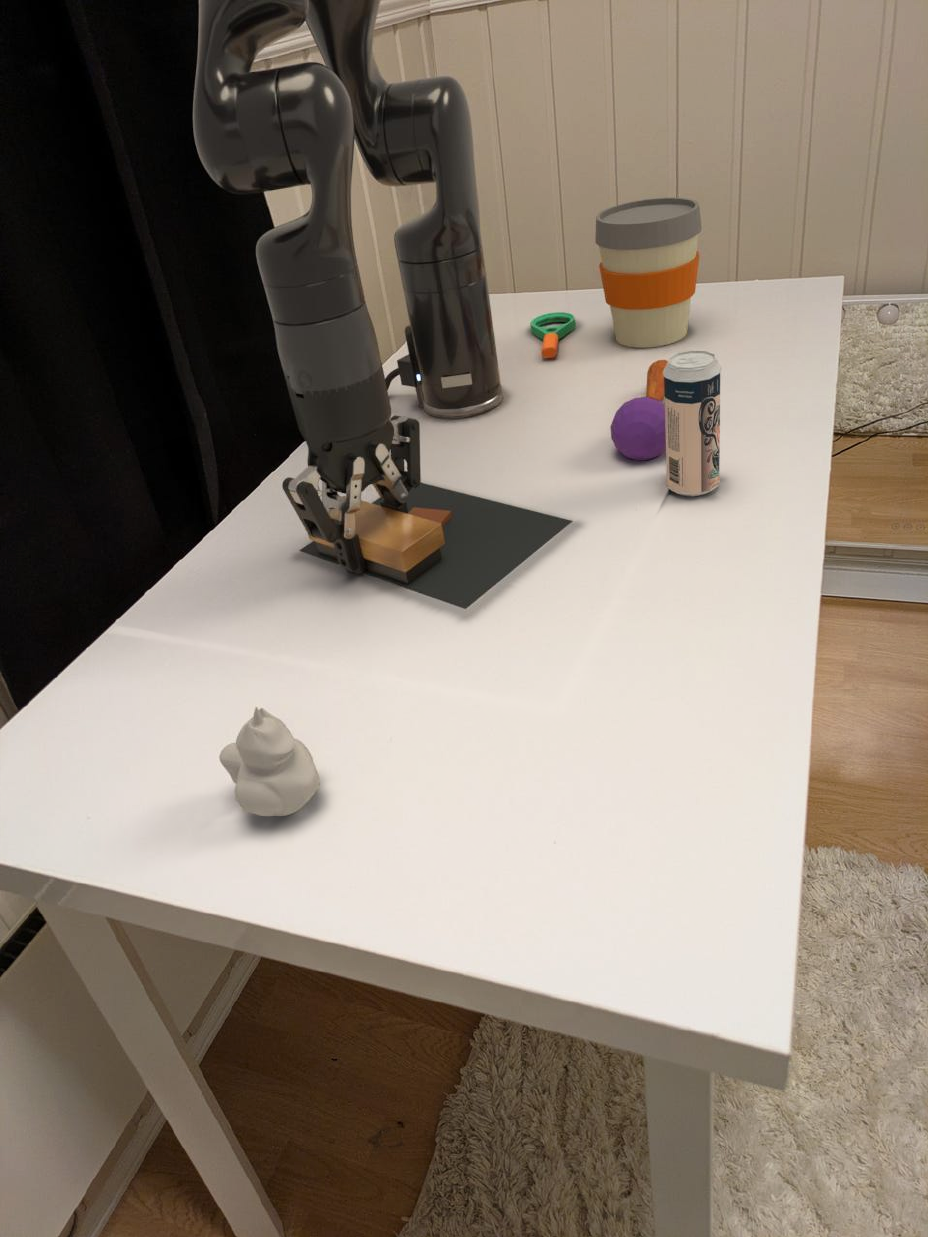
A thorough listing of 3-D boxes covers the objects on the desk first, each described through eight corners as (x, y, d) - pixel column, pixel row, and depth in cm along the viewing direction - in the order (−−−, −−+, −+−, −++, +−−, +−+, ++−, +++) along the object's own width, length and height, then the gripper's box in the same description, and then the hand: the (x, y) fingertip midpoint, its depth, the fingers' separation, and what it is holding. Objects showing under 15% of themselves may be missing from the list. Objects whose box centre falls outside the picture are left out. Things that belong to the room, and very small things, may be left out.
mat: (300, 555, 83) (298, 550, 83) (408, 484, 92) (407, 478, 92) (466, 614, 72) (465, 608, 71) (573, 526, 80) (572, 520, 80)
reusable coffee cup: (680, 355, 109) (677, 223, 101) (585, 350, 116) (575, 225, 107) (716, 319, 117) (717, 194, 109) (625, 316, 124) (619, 198, 115)
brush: (313, 554, 82) (303, 520, 80) (352, 528, 85) (343, 495, 83) (409, 588, 75) (401, 551, 73) (448, 558, 78) (441, 523, 76)
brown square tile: (394, 534, 83) (392, 528, 82) (414, 512, 86) (413, 506, 85) (432, 538, 81) (431, 532, 81) (452, 516, 84) (451, 510, 84)
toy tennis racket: (532, 323, 127) (531, 311, 126) (576, 318, 126) (575, 306, 125) (525, 362, 115) (524, 349, 114) (573, 357, 114) (572, 344, 113)
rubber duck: (300, 841, 55) (263, 744, 50) (213, 819, 57) (171, 725, 53) (344, 778, 59) (313, 683, 54) (260, 759, 61) (224, 667, 57)
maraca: (694, 351, 99) (676, 414, 83) (684, 404, 102) (664, 475, 86) (639, 343, 100) (611, 404, 84) (631, 396, 103) (602, 464, 87)
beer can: (720, 498, 80) (722, 367, 73) (665, 500, 81) (661, 371, 75) (719, 473, 84) (720, 346, 77) (666, 475, 85) (663, 350, 78)
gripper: (364, 331, 76) (402, 509, 86) (230, 397, 68) (289, 584, 78) (429, 340, 72) (462, 526, 82) (295, 411, 64) (349, 608, 73)
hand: (377, 554), depth 80 cm, fingers closed on brush, 5 cm apart
